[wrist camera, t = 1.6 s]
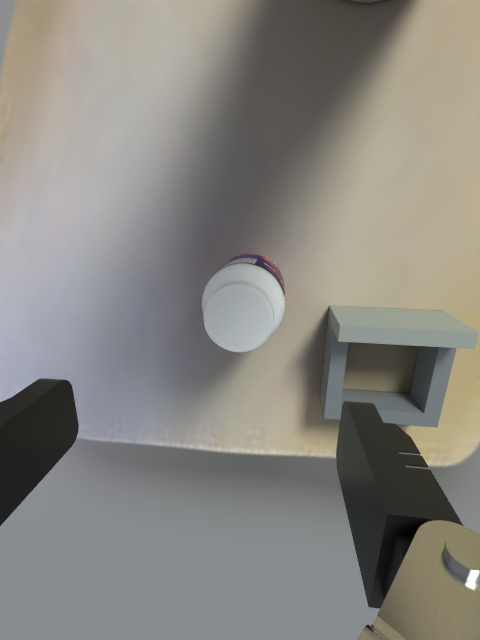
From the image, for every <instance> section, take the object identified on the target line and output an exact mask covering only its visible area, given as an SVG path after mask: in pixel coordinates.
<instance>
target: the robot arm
mask: <svg viewBox="0 0 480 640" xmlns="http://www.w3.org/2000/svg"><path fill="white" fill-rule="evenodd" d="M350 1H353V2H364V3H371V2H377V1H383V0H350ZM77 434H78V419H77V413H76V407H75V401H74V395H73V389H72V385H71V384H70V382H69V381H67V380H57V379H39V380H37V381H35V382H34V383H32V384H31V385H29V386H28V387H26V388H25V389H24V390H22V391H21V392H19V393H18V394H16V395H15V396H13V397H12V398H9V399H7V400H5V401H2V402H0V526H1V524H2V523H3V522H4V521H5V520H6V519H7V518H8V517H9V516H10V514H11V513H12V512H13V511H14V510H15V509H16V508H17V507H18V506H19V505H20V503H21V502H22V501H23V500H24V499H25V498H26V497H27V496H28V494H29V493H30V492H31V491H32V490H33V489H34V488H35V487H36V486H37V484H38V483H39V482H40V481H41V480H42V479H43V478H44V477H45V475H46V474H47V473H48V472H49V471H50V470H51V469H52V468H53V467H54V465H55V464H56V463H57V462H58V461H59V460H60V459H61V458H62V456H63V455H64V454H65V453H66V452H67V451H68V450H69V449H70V448H71V446H72V445H73V444H74V442H75V440H76V437H77ZM336 460H337V470H338V475H339V479H340V484H341V488H342V493H343V497H344V502H345V506H346V510H347V514H348V519H349V523H350V528H351V532H352V536H353V541H354V545H355V550H356V554H357V558H358V562H359V566H360V571H361V575H362V579H363V584H364V589H365V593H366V597H367V602H368V606H369V607H373V608H380V610H379V613H378V615H377V617H376V619H375V621H374V622H373V624H372V625H371V627H370V626H369V625H366V626H365V628H364V629H363V630H362V632H361V634H360V635H359V637H358V639H357V640H480V534H478V533H476V532H475V531H473V530H471V529H469V528H466V527H465V526H463V524H462V523H461V521H460V519H459V518H458V516H457V514H456V513H455V511H454V509H453V507H452V506H451V504H450V503H449V501H448V499H447V497H446V496H445V494H444V492H443V491H442V489H441V487H440V486H439V484H438V482H437V481H436V479H435V477H434V475H433V474H432V472H431V471H430V470H428V465H427V464H426V462H425V460H424V459H423V457H422V456H420V452H419V450H418V449H417V447H416V445H415V443H414V442H413V440H412V438H411V437H410V436H409V435H408V434H406V433H405V432H404V431H403V430H402V429H401V428H399V427H398V426H397V425H396V424H394V423H384V422H383V420H382V418H381V416H380V414H379V413H378V411H377V409H376V407H375V405H374V404H373V403H367V402H353V401H344V402H343V405H342V411H341V419H340V426H339V434H338V442H337V452H336Z"/></svg>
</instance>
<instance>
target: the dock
mask: <svg viewBox="0 0 480 640" xmlns="http://www.w3.org/2000/svg"><path fill="white" fill-rule="evenodd" d="M478 333H479V332H478V331H476V330H474V329H473V328H471V327H469V326H468V325H466V324H464V323H463V322H461V321H459V320H458V319H456V318H454V317H452V316H451V315H449V314H447V313H446V312H444V311H440V310H417V309H394V308H371V307H348V306H329V315H328V325H327V334H326V344H325V353H324V363H323V373H322V382H321V392H320V402H321V407H322V412H323V416H324V418H325V419H337V420H340V419H341V411H342V405H343V402H344V401H353V402H367V403H373V404H374V405H375V407H376V409H377V411H378V413H379V414H380V416H381V418H382V420H383V422H384V423H394V424H400V425H413V426H426V427H437V426H438V422H439V417H440V413H441V409H442V405H443V401H444V397H445V393H446V389H447V384H448V380H449V376H450V372H451V368H452V364H453V360H454V356H455V352H456V348H467V349H475V345H476V341H477V337H478ZM349 342H357V343H375V344H394V345H412V346H419V351H418V356H417V361H416V366H415V371H414V376H413V381H412V385H411V390H410V394H409V393H394V392H380V391H365V390H351V389H343V383H344V375H345V368H346V360H347V352H348V344H349Z"/></svg>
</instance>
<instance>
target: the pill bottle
mask: <svg viewBox="0 0 480 640" xmlns="http://www.w3.org/2000/svg"><path fill="white" fill-rule="evenodd" d="M202 310H203V321H204V326H205V329H206V332H207V333H208V335H209V337H210V338H211V339H212V340H213V342H215V343H216V344H217V345H218V346H220V347H221V348H223V349H226V350H228V351H232V352H247V351H251V350H253V349H256V348H257V347H259V346H260V345H262V344H263V343H264V342H265V341H266V340H267V338H268V337H270V336H271V335H272V334H273V333H274V332H275V331H276V330H277V328H278V327H279V325H280V323H281V321H282V319H283V316H284V311H285V293H284V281H283V277H282V274H281V272H280V270H279V268H278V267H277V265H276V264H275V263H274V262H273V261H272V260H270V259H269V258H267V257H266V256H263V255H260V254H256V253H246V254H242V255H239V256H237V257H235V258H233V259H231V260H230V261H229V262H228V263H227V264H225V265H224V266H223V267H222V268H221V269H220V270H219V271H218V272H217V273H215V274H214V275H213V277H212V278H211V279H210V280H209V282H208V283H207V285H206V287H205V290H204V293H203V296H202Z"/></svg>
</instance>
